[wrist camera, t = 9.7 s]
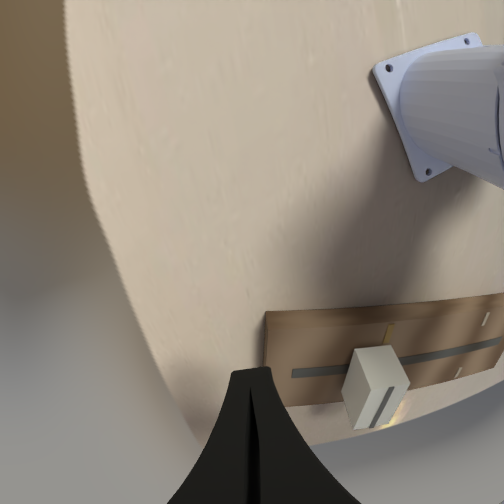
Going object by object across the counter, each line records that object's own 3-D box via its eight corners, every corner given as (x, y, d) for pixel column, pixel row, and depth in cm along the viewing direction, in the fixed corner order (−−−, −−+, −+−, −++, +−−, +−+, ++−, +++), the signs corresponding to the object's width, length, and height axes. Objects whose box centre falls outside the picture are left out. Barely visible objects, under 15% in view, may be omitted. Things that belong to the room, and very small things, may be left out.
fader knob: (390, 344, 22) (410, 384, 18) (373, 386, 24) (388, 424, 20) (354, 348, 22) (371, 391, 18) (341, 391, 24) (353, 431, 20)
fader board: (517, 290, 24) (528, 302, 22) (485, 356, 28) (494, 368, 26) (265, 311, 22) (268, 330, 21) (261, 390, 27) (263, 408, 25)
